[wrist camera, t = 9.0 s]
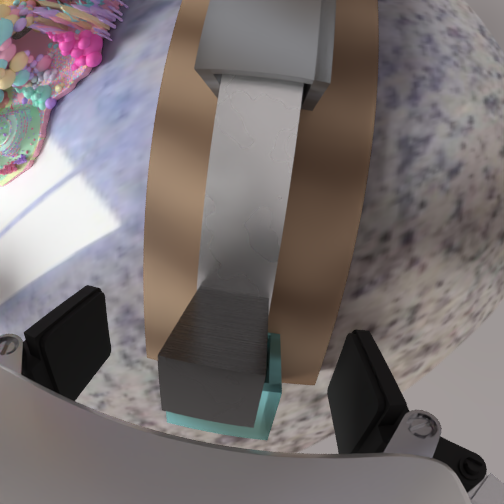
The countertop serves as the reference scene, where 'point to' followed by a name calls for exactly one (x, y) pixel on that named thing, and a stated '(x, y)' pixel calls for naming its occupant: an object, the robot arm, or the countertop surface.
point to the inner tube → (235, 255)
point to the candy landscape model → (43, 67)
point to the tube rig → (302, 179)
